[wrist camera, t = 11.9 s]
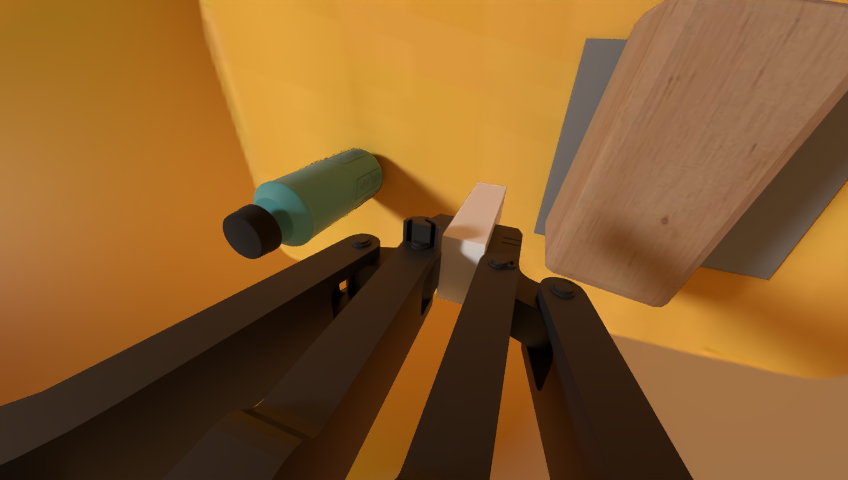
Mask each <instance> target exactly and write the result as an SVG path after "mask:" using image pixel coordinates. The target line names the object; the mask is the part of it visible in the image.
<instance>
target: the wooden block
mask: <svg viewBox="0 0 848 480" xmlns="http://www.w3.org/2000/svg"><path fill="white" fill-rule="evenodd" d="M847 91H848V4H846V3H839V2H832V1H824V0H665V1H663V2H662V3H660V4H659V5H657V6H655V7H654V8H652V9H651V10H649V11H648V12H646V13H645V14H643V16H642V17H641V18H640V19H639V20H638V21H637V22H636V24H635V25H634V27H633V30H632V32H631V34H630V36H629V38H628V41H627V43H626V45H625V47H624V49H623V52H622V54H621V56H620V58H619V61H618V63H617V65H616V67H615V69H614V72H613V74H612V76H611V78H610V80H609V83H608V85H607V87H606V89H605V91H604V94H603V96H602V98H601V100H600V102H599V105H598V107H597V109H596V111H595V114H594V116H593V118H592V120H591V122H590V125H589V127H588V129H587V131H586V133H585V136H584V138H583V140H582V142H581V144H580V147H579V149H578V151H577V153H576V155H575V158H574V160H573V162H572V164H571V167H570V169H569V171H568V173H567V175H566V178H565V180H564V182H563V184H562V186H561V189H560V191H559V193H558V195H557V197H556V200H555V202H554V204H553V206H552V208H551V211H550V213H549V215H548V217H547V220H546V222H545V266H546V267H547V268H548V269H549V270H550V271H552V272H553V273H556V274H559V275H562V276H565V277H568V278H570V279H573V280H576V281H579V282H582V283H585V284H588V285H591V286H594V287H597V288H600V289H603V290H606V291H609V292H611V293H614V294H617V295H620V296H623V297H626V298H629V299H632V300H635V301H638V302H641V303H644V304H647V305H649V306H652V307H662V306H664V305H666V304H668V303H669V301H670V300H671V299H672V298H673V297H674V295H675V294H676V293H677V292H678V291H679V289H680V288H681V287H682V286H683V285H684V284H685V282H686V281H687V280H688V279H689V278H690V276H691V275H692V274H693V273H694V272H695V271H696V269H697V268H698V267H699V266H700V265H701V263H702V262H703V261H704V260H705V259H706V258H707V256H708V255H709V254H710V253H711V252H712V250H713V249H714V248H715V247H716V246H717V244H718V243H719V242H720V241H721V240H722V239H723V237H724V236H725V235H726V234H727V233H728V231H729V230H730V229H731V228H732V227H733V226H734V224H735V223H736V222H737V221H738V220H739V218H740V217H741V216H742V215H743V214H744V213H745V211H746V210H747V209H748V208H749V207H750V205H751V204H752V203H753V202H754V201H755V199H756V198H757V197H758V196H759V195H760V194H761V192H762V191H763V190H764V189H765V188H766V186H767V185H768V184H769V183H770V182H771V181H772V179H773V178H774V177H775V176H776V175H777V173H778V172H779V171H780V170H781V169H782V168H783V166H784V165H785V164H786V163H787V162H788V160H789V159H790V158H791V157H792V156H793V154H794V153H795V152H796V151H797V150H798V149H799V147H800V146H801V145H802V144H803V143H804V141H805V140H806V139H807V138H808V137H809V136H810V134H811V133H812V132H813V131H814V130H815V128H816V127H817V126H818V125H819V124H820V122H821V121H822V120H823V119H824V118H825V117H826V115H827V114H828V113H829V112H830V111H831V109H832V108H833V107H834V106H835V105H836V104H837V102H838V101H839V100H840V99H841V98H842V96H843V95H844V94H845V93H846V92H847Z"/></svg>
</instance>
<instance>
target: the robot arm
mask: <svg viewBox="0 0 848 480" xmlns="http://www.w3.org/2000/svg"><path fill="white" fill-rule="evenodd" d="M506 188H507V187H506V186H500V185H494V184H488V183H482V182H477V184H476V186H475V187H474V189H473V190H472V192H471V193H470V195H469V196H468V198H467V199H466V201H465V202H464V204H463V205H462V207H461V208H460V210H459V211H458V213H457V214H456V216H455V217H452V216H447V215H442V214H440V215H437V216H435V217H433V218H432V219H431V218H428V217H411V218H407V219H406V220H404V224H403V242H402V243H401V244H400V245H399V246H398V247H397V248H390V247H380V240H379V239H378V238H377V237H375V236H373V235H369V234H356V235H352V236H350V237H347V238H345V239H343V240H341V241H339V242H337V243H335V244H333V245H331V246H329V247H327V248H325V249H323V250H322V251H320V252H318V253H316V254H314V255H312V256H310V257H308V258H306V259H304V260H302V261H300V262H298V263H296V264H294V265H292V266H290V267H288V268H286V269H284V270H282V271H280V272H278V273H276V274H274V275H272V276H270V277H268V278H266V279H264V280H262V281H260V282H258V283H256V284H254V285H252V286H250V287H248V288H246V289H244V290H242V291H240V292H239V293H236V294H234V295H232V296H231V297H229V298H227V299H225V300H223V301H221V302H219V303H217V304H215V305H213V306H211V307H209V308H207V309H205V310H203V311H201V312H199V313H197V314H195V315H193V316H191V317H189V318H187V319H185V320H183V321H181V322H179V323H177V324H175V325H173V326H171V327H169V328H167V329H165V330H163V331H161V332H159V333H157V334H156V335H153V336H151V337H150V338H147V339H145V340H144V341H142V342H140V343H138V344H135V345H134V346H132V347H130V348H128V349H126V350H124V351H122V352H120V353H118V354H116V355H114V356H112V357H110V358H108V359H106V360H104V361H102V362H100V363H98V364H96V365H94V366H92V367H90V368H88V369H86V370H84V371H82V372H81V373H78V374H76V375H74V376H72V377H70V378H69V379H66V380H64V381H62V382H60V383H58V384H56V385H54V386H52V387H50V388H48V389H46V390H44V391H42V392H40V393H37V394H34V395H31V396H28V397H26V398H23V399H20V400H17V401H14V402H11V403H8V404H6V405H3V406H0V480H345V479H346V477H347V475H348V473H349V471H350V469H351V467H352V465H353V463H354V461H355V459H356V457H357V455H358V453H359V450H360V449H361V447H362V445H363V443H364V441H365V439H366V437H367V434H368V433H369V431H370V429H371V427H372V425H373V423H374V420H375V419H376V417H377V415H378V413H379V411H380V408H381V407H382V404H383V403H384V401H385V399H386V396H387V395H388V393H389V390H390V389H391V387H392V385H393V382H394V381H395V378H396V377H397V375H398V373H399V370H400V368H401V366H402V364H403V362H404V360H405V358H406V356H407V354H408V352H409V350H410V348H411V346H412V344H413V342H414V340H415V338H416V336H417V334H418V332H419V330H420V328H421V326H422V324H423V322H424V320H425V318H426V316H427V314H428V312H429V310H430V308H431V306H432V302H433V294H434V292H435V290H436V288H437V293H436V297H438V298H441V299H444V300H448V301H452V302H455V303H459V304H462V305H463V306H462V308H461V311H460V314H459V316H458V319H457V322H456V324H455V327H454V330H453V332H452V335H451V338H450V340H449V343H448V346H447V348H446V351H445V354H444V357H443V359H442V362H441V365H440V368H439V370H438V373H437V375H436V378H435V381H434V384H433V386H432V389H431V392H430V394H429V397H428V400H427V402H426V405H425V408H424V410H423V413H422V416H421V418H420V421H419V424H418V426H417V429H416V432H415V435H414V437H413V440H412V443H411V445H410V448H409V451H408V453H407V456H406V459H405V461H404V464H403V467H402V469H401V471H400V473H399V475H398V477H397V478H396V479H395V480H489V479H490V472H491V465H492V458H493V451H494V444H495V437H496V430H497V423H498V415H499V409H500V402H501V395H502V388H503V381H504V374H505V367H506V359H507V352H508V345H509V338H510V336H511V337H512V338H514V339H516V340H518V341H519V342H521V350H522V354H523V359H524V364H525V368H526V373H527V377H528V381H529V386H530V391H531V395H532V399H533V403H534V409H535V413H536V417H537V422H538V427H539V431H540V436H541V440H542V445H543V449H544V453H545V458H546V462H547V467H548V471H549V476H550V480H693V478H692V477H691V475H690V473H689V471H688V470H687V468H686V466H685V464H684V463H683V461H682V459H681V457H680V456H679V454H678V452H677V451H676V449H675V447H674V445H673V444H672V442H671V440H670V438H669V437H668V435H667V433H666V431H665V430H664V428H663V426H662V425H661V423H660V421H659V419H658V418H657V416H656V414H655V412H654V411H653V409H652V407H651V405H650V404H649V402H648V400H647V398H646V397H645V395H644V393H643V392H642V390H641V388H640V386H639V385H638V383H637V381H636V379H635V378H634V376H633V374H632V372H631V371H630V369H629V367H628V365H627V364H626V362H625V360H624V358H623V357H622V355H621V354H620V352H619V350H618V348H617V346H616V345H615V343H614V341H613V339H612V338H611V336H610V334H609V332H608V331H607V329H606V327H605V326H604V324H603V322H602V320H601V319H600V317H599V315H598V313H597V312H596V310H595V308H594V306H593V305H592V303H591V301H590V299H589V298H588V296H587V294H586V293H585V291H584V290H583V289H582V288H581V287H580V286H578V285H577V284H575V283H574V282H572V281H570V280H567V279H564V278H558V277H548V278H545V279H543V280H542V281H541V282H540V283H538V282H535V281H533V280H531V279H529V278H528V277H526V276H525V275H524V274H523V273H522V272H521V271H520V269H519V257H520V250H521V243H522V236H523V235H522V233H521V232H520V230H519V229H517V228H512V227H507V226H502V225H499V222H500V217H501V212H502V207H503V203H504V198H505V193H506ZM345 280H346V288H344V289H342V290H340V288H339V284H340V283H341V282H343V281H345ZM263 399H264V400H263ZM262 400H263V401H262ZM260 401H262V402H261V403H259V402H260ZM258 403H259V404H258ZM257 404H258V405H257ZM255 405H257V406H256V407H254V406H255ZM253 407H254V408H253Z"/></svg>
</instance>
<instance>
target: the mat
mask: <svg viewBox="0 0 848 480" xmlns="http://www.w3.org/2000/svg"><path fill="white" fill-rule="evenodd" d="M627 41H628V40H618V39H586V43H585V46H584V50H583V54H582V57H581V61H580V65H579V68H578V72H577V76H576V79H575V83H574V87H573V90H572V94H571V98H570V102H569V105H568V109H567V113H566V116H565V120H564V124H563V127H562V131H561V135H560V138H559V142H558V146H557V149H556V153H555V157H554V161H553V164H552V168H551V172H550V175H549V179H548V183H547V186H546V190H545V194H544V197H543V201H542V205H541V209H540V212H539V216H538V220H537V223H536V227H535V231H534V233H536V234H541V235H545V222H546V220H547V217H548V215H549V213H550V211H551V208H552V206H553V204H554V202H555V200H556V197H557V195H558V193H559V191H560V189H561V186H562V184H563V182H564V180H565V178H566V175H567V173H568V171H569V169H570V167H571V164H572V162H573V160H574V158H575V155H576V153H577V151H578V149H579V147H580V144H581V142H582V140H583V138H584V136H585V133H586V131H587V129H588V127H589V125H590V122H591V120H592V118H593V116H594V114H595V111H596V109H597V107H598V105H599V102H600V100H601V98H602V96H603V94H604V91H605V89H606V87H607V85H608V83H609V80H610V78H611V76H612V74H613V72H614V69H615V67H616V65H617V63H618V61H619V58H620V56H621V54H622V52H623V49H624V47H625V45H626V43H627ZM847 179H848V91H847V92H846V93H845V94H844V95H843V96H842V98H841V99H840V100H839V101H838V102H837V104H836V105H835V106H834V107H833V108H832V109H831V111H830V112H829V113H828V114H827V115H826V117H825V118H824V119H823V120H822V121H821V122H820V124H819V125H818V126H817V127H816V128H815V130H814V131H813V132H812V133H811V134H810V136H809V137H808V138H807V139H806V140H805V141H804V143H803V144H802V145H801V146H800V147H799V149H798V150H797V151H796V152H795V153H794V154H793V156H792V157H791V158H790V159H789V160H788V162H787V163H786V164H785V165H784V166H783V168H782V169H781V170H780V171H779V172H778V173H777V175H776V176H775V177H774V178H773V179H772V181H771V182H770V183H769V184H768V185H767V186H766V188H765V189H764V190H763V191H762V192H761V194H760V195H759V196H758V197H757V198H756V199H755V201H754V202H753V203H752V204H751V205H750V207H749V208H748V209H747V210H746V211H745V213H744V214H743V215H742V216H741V217H740V218H739V220H738V221H737V222H736V223H735V224H734V226H733V227H732V228H731V229H730V230H729V231H728V233H727V234H726V235H725V236H724V237H723V239H722V240H721V241H720V242H719V243H718V244H717V246H716V247H715V248H714V249H713V250H712V252H711V253H710V254H709V255H708V256H707V258H706V259H705V260H704V261H703V262H702V263H701V265H700V266H702V267H707V268H712V269H717V270H722V271H727V272H732V273H737V274H742V275H747V276H752V277H757V278H762V279H767V280H768V279H769V278H770V277H771V276H772V274H773V273H774V272H775V270H776V269H777V268H778V267H779V265H780V264H781V263H782V262H783V260H784V259H785V258H786V256H787V255H788V254H789V253H790V251H791V250H792V249H793V248H794V246H795V245H796V244H797V242H798V241H799V240H800V239H801V237H802V236H803V235H804V234H805V232H806V231H807V230H808V228H809V227H810V226H811V225H812V223H813V222H814V221H815V220H816V218H817V217H818V216H819V214H820V213H821V212H822V211H823V209H824V208H825V207H826V206H827V204H828V203H829V202H830V200H831V199H832V198H833V197H834V195H835V194H836V193H837V192H838V190H839V189H840V188H841V186H842V185H843V184H844V183H845V181H846V180H847Z"/></svg>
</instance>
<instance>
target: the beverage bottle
mask: <svg viewBox="0 0 848 480" xmlns="http://www.w3.org/2000/svg"><path fill="white" fill-rule="evenodd" d="M349 149H350V148H349ZM346 150H347V149H346ZM341 152H342V151H341ZM333 155H335V154H333ZM326 158H327V157H326ZM326 158H325V160H322V161H320V162H318V161H317V162H314V163H312V165H309V166H307V167H305V168H303V167H302V168H303V169H300V170H298V171H295V172H293V173H290V174H288V175H285V176H283V177H280V178H278V179H276V180H273V181H268V182H266V183H263V184H262V185H260V186H259V187H258V188H257V190H256V192H255V195H254V200H253V204H249V205H246V206H244V207H242V208H240V209H239V210H238V211H236V212H234V213H232V214H230V215H229V216H227V217H226V218H225V219H224V221H223V232H224V235H225V237H226V239H227V241H228V242H229V244H230V245H231V246H232V248H233V249H234V250H235V251H236V252H238V253H239V254H241V255H242V256H244V257H246V258H249V259H256V258H259V257H261V256H263V255H265V254H267V253H269V252H272V251H274V250H275V249H277V248H278V247H279V246H280V245H281V244H284V245H288V246H301V245H304V244H305V243H307V242H308V241H309V240H311V238H313V237H314V236H316V235H317V234H319V233H320V232H321V231H323V230H324V229H326V228H327V227H329V226H331V224H333V223H334V222H336V221H338V220H339V219H341V218H342V217H344V216H345V215H346V214H347V215H348V213H350V211H352V210H353V209H356V208H358V207H359V206H360V205H362V204H363V203H364V201H365V202H366V201H367V200H369V199H370V198H372V197H373V196H375V193H376V192H377V191H378V190H379V188H381V187H380V186H381V184H382V179H383V176H382V170H381V167H380V164H379V163H378V161H377V160H376V158H375V157H374V156H373V155H372V154H370V153H369V152H367V151H364V150H362V149H351V150H348V151H345V152H343V153H339V154H338V155H335V156H332V157H330V158H327V159H326ZM371 196H372V197H371ZM368 198H369V199H368ZM357 206H358V207H357ZM345 217H346V216H345Z"/></svg>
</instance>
